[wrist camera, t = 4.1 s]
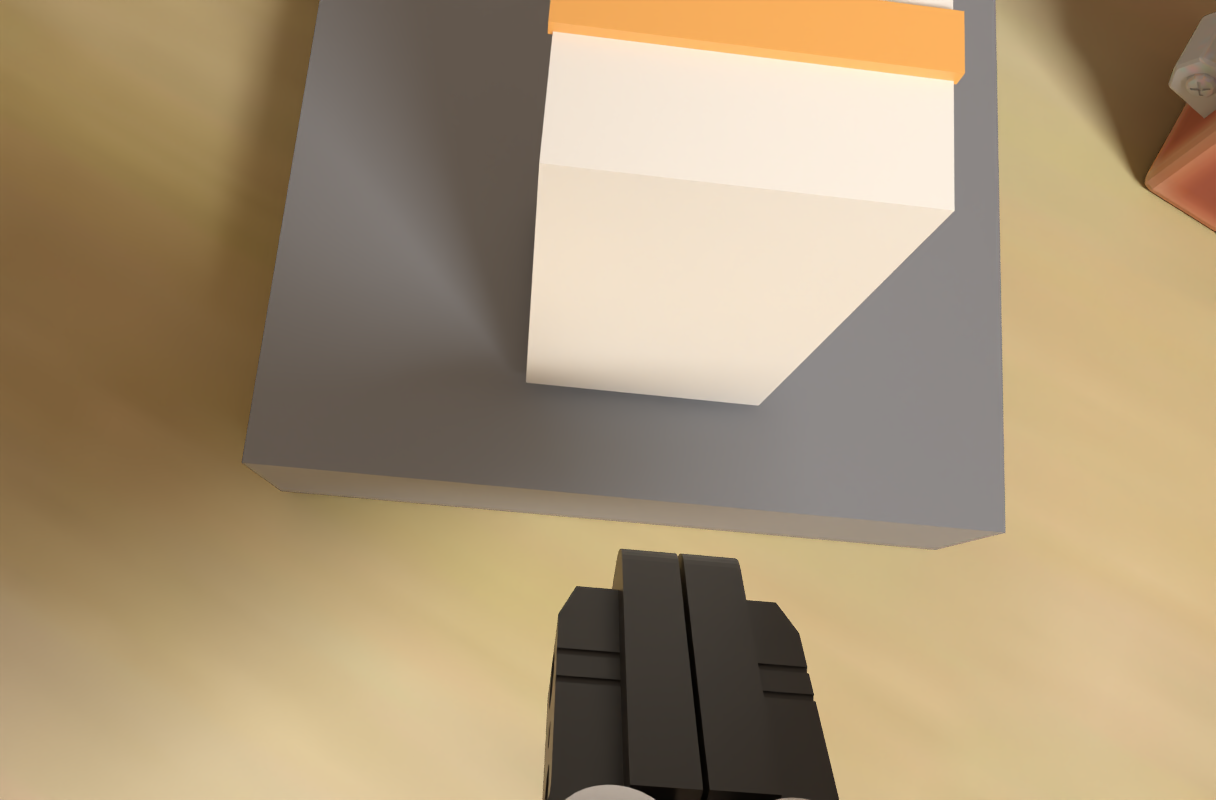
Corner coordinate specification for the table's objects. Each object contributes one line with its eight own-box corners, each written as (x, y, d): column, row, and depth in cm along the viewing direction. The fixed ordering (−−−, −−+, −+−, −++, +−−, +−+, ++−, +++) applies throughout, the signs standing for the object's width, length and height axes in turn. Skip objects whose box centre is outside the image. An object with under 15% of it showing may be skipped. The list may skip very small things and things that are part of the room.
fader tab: (769, 217, 18) (962, -108, 11) (761, 406, 18) (965, 203, 10) (541, 192, 18) (568, -162, 10) (523, 382, 17) (534, 155, 9)
